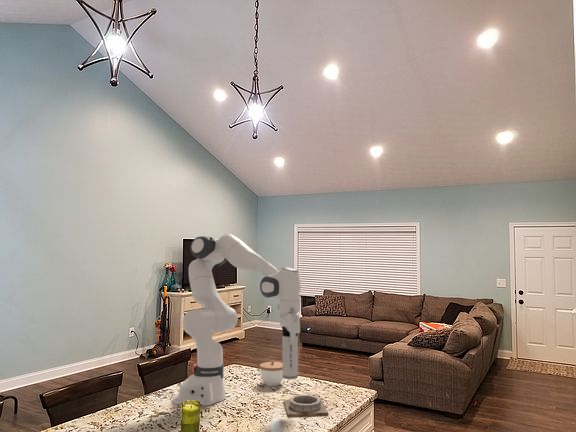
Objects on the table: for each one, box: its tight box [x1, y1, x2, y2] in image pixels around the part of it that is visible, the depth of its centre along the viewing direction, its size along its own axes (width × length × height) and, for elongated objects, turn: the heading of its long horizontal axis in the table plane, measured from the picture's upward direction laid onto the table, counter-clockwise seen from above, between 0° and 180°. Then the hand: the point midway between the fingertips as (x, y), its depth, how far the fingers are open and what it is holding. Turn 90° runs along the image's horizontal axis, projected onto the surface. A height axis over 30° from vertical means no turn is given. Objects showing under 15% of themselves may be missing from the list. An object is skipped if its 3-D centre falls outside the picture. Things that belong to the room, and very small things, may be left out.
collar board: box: [283, 394, 329, 418], centre depth 175 cm, size 16×16×4 cm
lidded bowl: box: [259, 360, 284, 387], centre depth 209 cm, size 13×13×11 cm
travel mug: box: [281, 327, 299, 380], centre depth 175 cm, size 6×7×20 cm
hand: (289, 341), depth 175 cm, fingers closed on travel mug, 6 cm apart
